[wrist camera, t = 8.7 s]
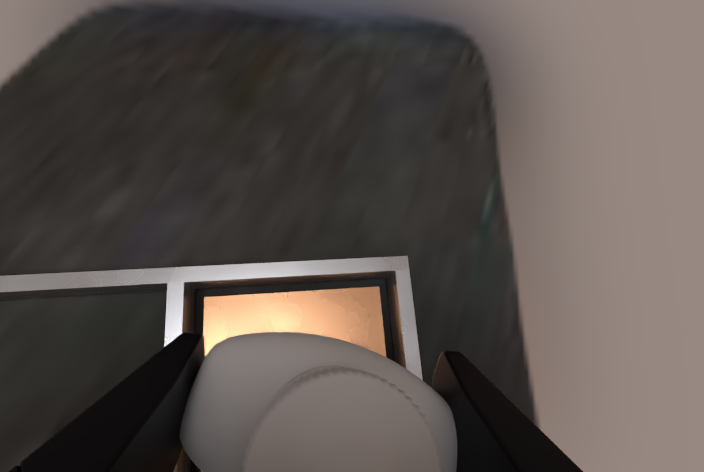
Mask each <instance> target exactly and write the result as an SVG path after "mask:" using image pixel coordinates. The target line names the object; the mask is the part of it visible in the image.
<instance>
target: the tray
mask: <svg viewBox="0 0 704 472" xmlns="http://www.w3.org/2000/svg"><path fill="white" fill-rule="evenodd" d="M378 278H386V283H387V293H388V302H389V312H390V321H391V331H392V340H393V350H394V359H395V362H396V363H397V364H399V365H401V366H402V367H404V368H406V369H407V370H409V371H410V372H412V373H413V374H414V375H416V376H417V377H419V378H420V379H421V380H423V379H422V370H421V362H420V354H419V346H418V338H417V330H416V321H415V313H414V305H413V297H412V289H411V281H410V272H409V264H408V256H395V257H375V258H355V259H334V260H314V261H294V262H274V263H253V264H233V265H213V266H192V267H172V268H152V269H132V270H111V271H91V272H71V273H50V274H30V275H10V276H0V300H15V299H32V298H49V297H67V296H84V295H101V294H119V293H136V292H153V291H167V303H166V323H165V343H164V347H165V346H166V345H168V344H169V343H170V342H171V341H173V340H174V339H175V338H176V337H178V336H179V335H180V334H182V333H184V332H189V333H194V329H195V295H196V289H205V288H222V287H240V286H257V285H274V284H292V283H309V282H326V281H343V280H361V279H378ZM262 332H296V333H308V334H315V335H322V336H326V337H331V338H336V339H340V340H343V341H347V342H350V343H353V344H356V345H359V346H362V347H364V348H367V349H369V350H372V351H374V352H376V353H378V354H380V355H382V356H384V357H386V349H385V339H384V329H383V319H382V309H381V299H380V289H379V287H363V288H346V289H330V290H313V291H297V292H281V293H264V294H248V295H232V296H215V297H204V323H203V336H204V347H205V356H206V355H207V354H208V352H209V351H210V350H211V349H212V348H213V346H214V345H215V344H217V343H219V342H221V341H223V340H225V339H227V338H229V337H233V336H238V335H243V334H251V333H262ZM190 465H191V459H190V457H189V456H188V455H187V453H186V452H185V451H184V448H182V451H181V454H180V456H179V459H178V462H177V464H176V467H175V469H174V472H190ZM200 472H202V471H201V470H200Z"/></svg>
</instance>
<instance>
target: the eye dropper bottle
mask: <svg viewBox="0 0 704 472" xmlns="http://www.w3.org/2000/svg"><path fill="white" fill-rule="evenodd" d="M179 438H180V441H181V443H182V446H183V448H184V451H185V452H186V453H187V455H188V456H189V457H190V459H191V460H192V461H193V462H194V464H195V465H196V466H197V467H198V468H199V469H200V470H201V471H202V472H456V470H457V434H456V426H455V422H454V418H453V414H452V411H451V409H450V406H449V405H448V403H447V402H446V401H445V400H444V399H443V398H442V397H441V396H440V395H439V394H438V393H437V392H436V391H435V390H434V389H432V388H431V387H430V386H429V385H428V384H426V383H425V382H424V381H423V380H421V379H420V378H419V377H417V376H416V375H414V374H413V373H412V372H410V371H409V370H407V369H406V368H404V367H402V366H401V365H399V364H397V363H396V362H394V361H392V360H390V359H388V358H386V357H384V356H382V355H380V354H378V353H376V352H374V351H372V350H369V349H367V348H364V347H362V346H359V345H356V344H353V343H350V342H347V341H343V340H340V339H336V338H331V337H326V336H322V335H315V334H308V333H296V332H262V333H251V334H243V335H238V336H233V337H229V338H227V339H225V340H223V341H221V342H219V343H217V344H215V345H214V346H213V348H212V349H211V350H210V351H209V352H208V354H207V355H206V356H205V358H204V360H203V362H202V365H201V367H200V369H199V371H198V373H197V376H196V378H195V381H194V383H193V385H192V388H191V391H190V394H189V396H188V399H187V403H186V407H185V410H184V414H183V418H182V422H181V429H180V435H179Z"/></svg>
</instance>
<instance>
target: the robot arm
mask: <svg viewBox="0 0 704 472" xmlns="http://www.w3.org/2000/svg"><path fill="white" fill-rule="evenodd" d="M204 358H205V347H204V336H203V335H202V334H201V333H189V332H184V333H182V334H180V335H179V336H178V337H176V338H175V339H174V340H173V341H171V342H170V343H169V344H168V345H166V346H165V347H164V348H163V349H161V350H160V351H159V352H158V353H156V354H155V355H154V356H153V357H151V358H150V359H149V360H148V361H146V362H145V363H144V364H143V365H141V366H140V367H139V368H138V369H136V370H135V371H134V372H133V373H131V374H130V375H129V376H128V377H126V378H125V379H124V380H123V381H121V382H120V383H119V384H118V385H116V386H115V387H114V388H113V389H111V390H110V391H109V392H108V393H106V394H105V395H104V396H103V397H101V398H100V399H99V400H98V401H96V402H95V403H94V404H93V405H91V406H90V407H89V408H88V409H86V410H85V411H84V412H83V413H81V414H80V415H79V416H78V417H76V418H75V419H74V420H73V421H71V422H70V423H69V424H68V425H66V426H65V427H64V428H63V429H61V430H60V431H59V432H58V433H56V434H55V435H54V436H53V437H51V438H50V439H49V440H48V441H46V442H45V443H44V444H43V445H41V446H40V447H39V448H38V449H36V450H35V451H34V452H33V453H31V454H30V455H29V456H28V457H26V458H25V459H24V460H23V461H22V462H21V464H20V466H15V467H14V468H12V469H11V470H10V471H9V472H174V469H175V467H176V464H177V462H178V459H179V456H180V454H181V451H182V448H183V446H182V443H181V441H180V438H179V435H180V429H181V422H182V418H183V414H184V410H185V407H186V403H187V399H188V396H189V394H190V391H191V388H192V385H193V383H194V381H195V378H196V376H197V373H198V371H199V369H200V367H201V365H202V362H203V360H204ZM432 383H433V389H434V390H435V391H436V392H437V393H438V394H439V395H440V396H441V397H442V398H443V399H444V400H445V401H446V402H447V403H448V405H449V406H450V409H451V411H452V414H453V418H454V422H455V426H456V434H457V470H456V472H583V471H582V470H581V469H580V468H579V467H578V466H577V465H576V464H574V462H572V461H571V459H570V458H568V457H567V456H566V455H565V454H564V453H563V452H562V451H561V450H560V449H559V448H558V447H557V446H556V445H555V444H554V443H553V442H552V441H551V440H550V439H549V438H548V437H547V436H546V435H545V434H544V433H543V432H542V431H541V430H540V429H539V428H538V427H537V426H536V425H535V424H534V423H533V422H532V421H531V420H530V419H528V418H527V417H526V416H525V415H524V414H523V413H522V412H521V411H520V410H519V409H518V408H517V407H516V406H515V405H514V404H513V403H512V402H511V401H510V400H509V399H508V398H507V397H506V396H505V395H504V394H503V393H502V392H501V391H500V390H499V389H498V388H497V387H496V386H495V385H494V384H493V383H492V382H491V381H490V380H489V379H487V378H486V377H485V376H484V375H483V374H482V373H481V372H480V371H479V370H478V369H477V368H476V367H475V366H474V365H473V364H472V363H471V362H470V361H469V360H468V359H467V358H466V357H465V356H464V355H463V354H462V353H460V352H455V351H443V352H442V353H441V355H440V357H439V360H438V363H437V366H436V369H435V372H434V375H433V382H432Z"/></svg>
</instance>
